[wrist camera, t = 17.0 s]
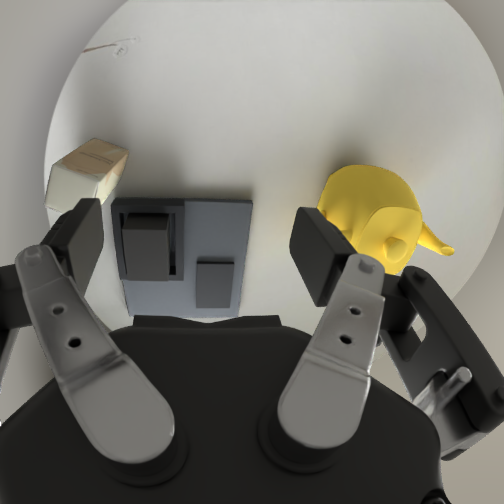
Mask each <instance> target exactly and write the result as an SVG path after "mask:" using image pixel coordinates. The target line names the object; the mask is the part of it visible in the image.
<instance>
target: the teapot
mask: <svg viewBox="0 0 504 504" xmlns="http://www.w3.org/2000/svg"><path fill="white" fill-rule="evenodd" d="M317 209H318V210H319V211H320V212H321V213H322V215H323V216H324V217H325V218H326V220H328V221H330V222H331V223H333V224H334V225H335V226H337V227H338V228H339V230H340V231H341V232H342V235H344V236H345V237H346V238H347V240H348V241H349V242H350V243H351V245H352V246H353V247H354V248H355V250H356V251H357V252H358V253H360V254H365V255H368V256H371V257H373V258H375V259H376V260H378V261H379V262H380V263H381V264H382V265H383V266H384V268H385V273H387V274H392V275H394V274H397V273H398V272H400V271H401V270H402V269H403V268H404V266H405V265H406V264H407V262H408V261H409V259H410V258H411V256H412V254H413V252H414V250H415V248H416V246H417V243H418V244H420V245H423V246H425V247H427V248H429V249H431V250H433V251H435V252H437V253H439V254H442V255H445V256H450V255H453V254H454V249H453V248H452V247H450V246H448V245H447V244H445V243H443V242H442V241H440V240H439V239H438V238H437V237H436V236H435V235H434V234H433V232H432V231H431V230H430V229H429V227H428V226H427V225H426V224H425V223H424V222H423V221H422V220H423V219H422V213H421V210H420V207H419V204H418V202H417V199H416V197H415V195H414V193H413V192H412V190H411V189H410V187H409V186H408V184H407V183H406V182H405V181H404V180H403V179H402V178H401V177H399V176H398V175H397V174H395V173H393V172H391V171H389V170H386V169H383V168H380V167H376V166H369V165H349V166H345V167H343V168H341V169H339V170H338V171H336V172H335V173H332V174H331V175H330V176H329V178H328V180H327V184H326V186H325V188H324V190H323V192H322V194H321V197H320V200H319V202H318V206H317Z"/></svg>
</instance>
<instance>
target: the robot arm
mask: <svg viewBox="0 0 504 504" xmlns="http://www.w3.org/2000/svg"><path fill="white" fill-rule="evenodd" d="M103 243H104V231H103V222H102V211H101V202H100V199H99V198H81V199H80V200H79V202H78V203H77V204H76V206H75V207H74V208H73V210H68V211H67V212H65V213H64V214H62V215H61V216H60V217H59V218H58V220H57V221H56V222H55V224H54V225H53V226H52V228H51V230H50V231H49V232H48V233H47V235H46V236H45V238H44V239H43V241H42V242H41V243H40V244H39V245H33V246H30V247H28V248H26V249H24V250H23V251H21V252H20V253H19V254H18V255H17V257H16V258H15V264H12V265H8V266H2V267H0V392H1V388H2V384H3V380H4V376H5V373H6V369H7V366H8V363H9V359H10V356H11V353H12V350H13V347H14V344H15V341H16V338H17V335H18V332H19V329H20V328H21V327H26V326H32V325H33V327H34V329H35V332H36V335H37V337H38V340H39V342H40V345H41V347H42V349H43V352H44V354H45V356H46V359H47V361H48V363H49V365H50V367H51V370H52V372H53V374H54V376H55V377H54V378H53V379H52V380H50V381H49V382H48V383H47V384H46V385H45V386H44V387H42V388H41V389H40V390H39V391H38V392H37V393H36V394H35V395H33V396H32V397H31V398H30V399H29V400H28V401H27V402H26V403H24V404H23V405H22V406H21V407H20V408H19V409H18V410H17V411H16V412H15V413H13V414H12V415H11V416H10V417H9V418H8V419H7V420H6V421H5V422H4V423H3V424H2V425H1V421H0V504H451V503H450V501H449V500H448V498H447V497H446V495H445V492H444V489H443V483H442V477H441V460H444V461H449V460H452V459H454V458H456V457H457V456H458V455H460V454H461V453H463V452H464V451H466V450H467V449H469V448H470V447H471V446H473V445H474V444H475V443H477V442H478V441H480V440H481V439H482V438H484V437H485V436H486V435H487V434H489V433H490V432H491V431H492V430H494V429H495V428H496V427H497V426H499V425H500V424H501V423H502V422H503V421H504V377H503V375H502V374H501V372H500V370H499V369H498V367H497V366H496V364H495V362H494V361H493V359H492V358H491V356H490V355H489V353H488V352H487V350H486V349H485V347H484V346H483V344H482V343H481V341H480V340H479V338H478V337H477V335H476V334H475V333H474V331H473V330H472V328H471V327H470V325H469V324H468V323H467V321H466V320H465V319H464V317H463V316H462V315H461V313H460V312H459V310H458V309H457V308H456V307H455V305H454V304H453V302H452V301H451V300H450V299H449V297H448V296H447V295H446V293H445V292H444V291H443V290H442V288H441V287H440V286H439V285H438V283H437V282H436V281H435V280H434V279H433V277H432V276H431V275H430V274H429V273H427V272H426V271H424V270H423V269H421V268H418V267H415V266H406V267H405V268H404V270H403V272H402V274H401V276H396V275H392V274H387V273H385V268H384V266H383V265H382V264H381V263H380V262H379V261H378V260H376V259H375V258H373V257H371V256H368V255H365V254H360V253H358V252H357V251H356V250H355V248H354V247H353V246H352V245H351V243H350V242H349V241H348V240H347V238H346V237H345V236H344V235H342V232H341V231H340V230H339V228H338V227H337V226H335V225H334V224H333V223H331V222H330V221H328V220H326V218H325V217H324V216H323V215H322V213H321V212H320V211H319V210H318V209H317V208H308V207H299V208H298V210H297V213H296V217H295V221H294V225H293V229H292V234H291V238H290V244H289V248H290V254H291V256H292V258H293V260H294V262H295V264H296V266H297V268H298V270H299V272H300V274H301V277H302V279H303V281H304V283H305V285H306V287H307V289H308V291H309V293H310V295H311V297H312V299H313V302H314V304H315V306H316V307H325V306H327V307H326V309H325V311H324V313H323V315H322V317H321V320H320V322H319V324H318V326H317V328H316V330H315V332H314V334H313V336H311V335H309V334H308V333H305V332H303V331H301V330H298V329H295V328H291V327H287V326H282V324H281V321H280V318H279V315H268V316H242V317H238V318H233V319H228V320H223V321H219V322H214V323H202V322H197V321H192V320H187V319H182V318H178V317H173V316H157V315H134V320H133V326H127V327H123V328H120V329H117V330H114V331H112V332H110V333H107V331H106V330H105V329H104V327H103V326H102V324H101V323H100V321H99V320H98V318H97V317H96V315H95V314H94V312H93V311H92V309H91V307H90V306H89V304H88V303H87V301H86V300H85V298H84V295H85V292H86V289H87V287H88V284H89V281H90V279H91V276H92V273H93V271H94V268H95V266H96V263H97V261H98V258H99V256H100V253H101V251H102V248H103ZM418 315H419V316H420V317H421V319H422V320H423V322H424V324H425V326H426V336H425V339H424V340H423V341H422V342H421V341H420V339H419V337H418V336H417V334H416V332H415V331H414V329H413V327H412V325H413V323H414V322H415V320H416V318H417V317H418ZM378 334H379V336H380V338H381V340H382V342H383V344H384V346H385V348H386V350H387V352H388V354H389V356H390V358H391V360H392V362H393V364H394V366H395V368H396V370H397V372H398V374H399V376H400V378H401V380H402V382H403V384H404V387H405V389H406V391H407V393H408V395H409V397H410V400H411V402H412V403H410V402H409V401H407V400H406V399H404V398H403V397H401V396H400V395H398V394H397V393H395V392H394V391H392V390H390V389H389V388H388V387H386V386H385V385H383V384H382V383H380V382H379V381H377V380H376V379H374V378H373V377H371V376H370V375H369V372H370V368H371V364H372V360H373V356H374V352H375V348H376V343H377V338H378Z"/></svg>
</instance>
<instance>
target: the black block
mask: <svg viewBox="0 0 504 504" xmlns="http://www.w3.org/2000/svg"><path fill="white" fill-rule="evenodd" d="M122 236H123V245H124V254H125V262H126V269H127V276H128V281H163V282H168V279H169V269H170V213H129V214H128V216H127V219H126V221H125V223H124V226H123V228H122Z"/></svg>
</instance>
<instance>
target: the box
mask: <svg viewBox="0 0 504 504" xmlns="http://www.w3.org/2000/svg"><path fill="white" fill-rule="evenodd" d="M128 155H129V151H128V150H126V149H124V148H121V147H118V146H116V145H113V144H110V143H107V142H104V141H101V140H98V139H95V138H93V139H91V140H90V141H88V142H86V143H85V144H83V145H82V146H80V147H78V148H77V149H75V150H74V151H72V152H71V153H69V154H68V155H66V156H65V157H63V158H62V159H60V160H59V161H57V162H56V163H54V164H53V165H52V168H51V172H50V176H49V180H48V185H47V190H46V195H45V201H44V206H45V207H47V208H49V209H52V210H54V211H57V212H59V213H62V214H64V213H65V212H67V211H68V210H73V208H74V207H75V206H76V204H77V203H78V202H79V200H80V199H81V198H99V199H100V202H101V205H102V204H103V203H104V201H105V200H106V198H107V197H108V196H109V194H110V193H111V192H112V190H113V189H114V188H115V186H116V185H117V184H118V182H119V181H120V178H121V175H122V172H123V170H124V167H125V164H126V161H127V158H128Z"/></svg>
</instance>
